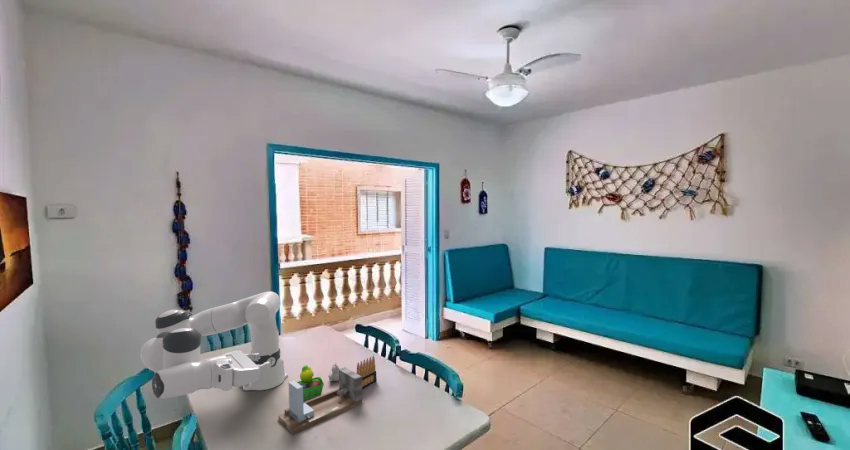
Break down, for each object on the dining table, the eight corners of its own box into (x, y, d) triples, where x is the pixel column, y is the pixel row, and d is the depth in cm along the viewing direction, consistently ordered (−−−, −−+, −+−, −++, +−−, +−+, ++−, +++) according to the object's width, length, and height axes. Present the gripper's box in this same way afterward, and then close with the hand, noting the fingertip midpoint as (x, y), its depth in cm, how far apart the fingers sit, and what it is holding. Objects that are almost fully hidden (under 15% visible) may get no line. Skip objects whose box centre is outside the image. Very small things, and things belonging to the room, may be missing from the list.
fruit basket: (295, 403, 143) (294, 375, 143) (292, 393, 151) (291, 366, 151) (324, 396, 148) (324, 369, 148) (320, 387, 156) (319, 361, 156)
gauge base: (278, 419, 132) (277, 391, 132) (345, 392, 152) (345, 367, 151) (293, 434, 124) (292, 403, 123) (362, 402, 143) (361, 376, 143)
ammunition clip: (358, 392, 152) (358, 363, 151) (355, 390, 153) (354, 362, 152) (376, 382, 160) (376, 355, 160) (373, 380, 161) (373, 354, 161)
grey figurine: (344, 379, 163) (344, 361, 163) (333, 385, 158) (333, 367, 157) (335, 376, 166) (335, 359, 166) (324, 382, 160) (324, 364, 160)
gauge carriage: (289, 414, 132) (288, 382, 132) (305, 408, 137) (304, 376, 136) (301, 425, 126) (300, 391, 125) (317, 418, 130) (316, 385, 129)
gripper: (209, 369, 121) (254, 359, 130) (227, 393, 106) (276, 380, 115) (210, 350, 120) (254, 342, 130) (228, 371, 105) (276, 360, 115)
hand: (264, 360), depth 122 cm, fingers open, 8 cm apart
